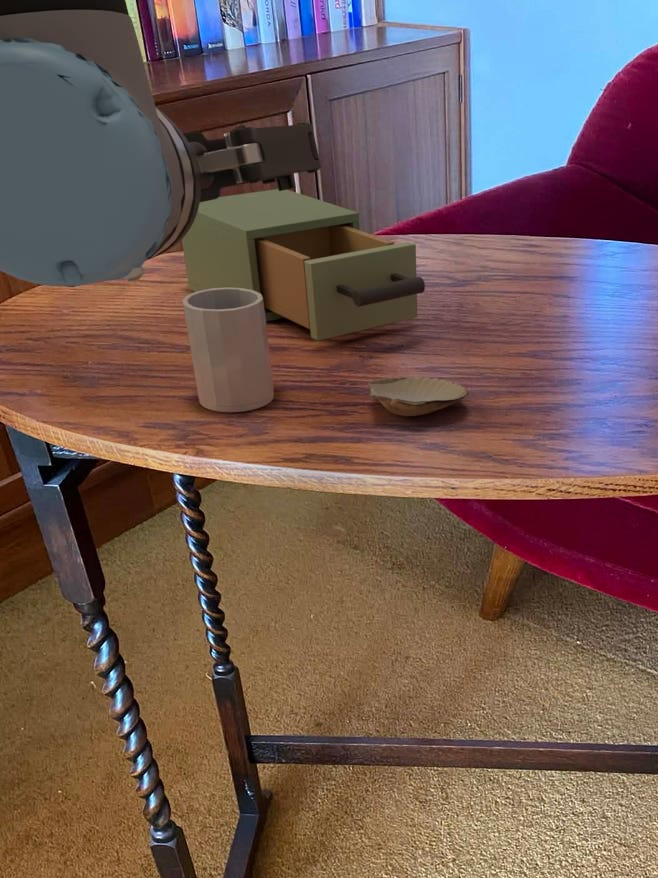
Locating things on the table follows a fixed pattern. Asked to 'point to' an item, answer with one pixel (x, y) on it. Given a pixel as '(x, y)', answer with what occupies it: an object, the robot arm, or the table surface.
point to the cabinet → (249, 235)
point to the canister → (229, 348)
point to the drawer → (338, 279)
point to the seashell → (416, 394)
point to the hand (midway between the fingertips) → (164, 181)
